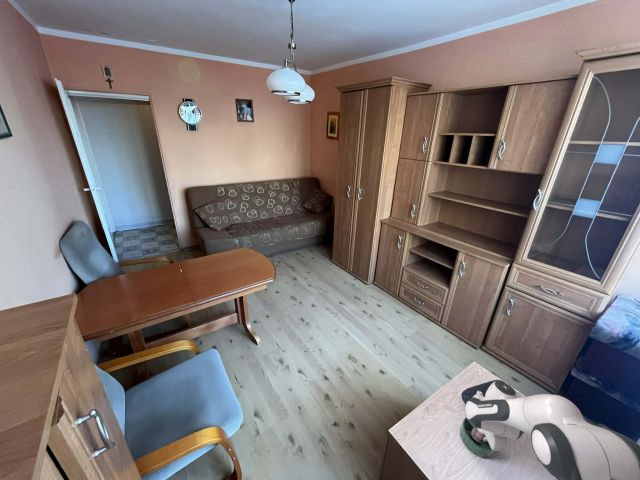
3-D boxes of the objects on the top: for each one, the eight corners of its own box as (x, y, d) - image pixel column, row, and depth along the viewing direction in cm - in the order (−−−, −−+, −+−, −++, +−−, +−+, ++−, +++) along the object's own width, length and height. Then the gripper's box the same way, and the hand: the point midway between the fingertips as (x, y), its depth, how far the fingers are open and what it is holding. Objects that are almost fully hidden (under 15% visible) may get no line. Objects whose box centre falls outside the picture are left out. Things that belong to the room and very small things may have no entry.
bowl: (500, 460, 111) (505, 452, 109) (467, 456, 112) (471, 448, 109) (484, 424, 124) (488, 417, 121) (454, 421, 124) (457, 414, 122)
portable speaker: (471, 417, 126) (478, 404, 122) (456, 398, 135) (462, 385, 131) (510, 404, 134) (518, 391, 129) (493, 386, 142) (500, 373, 138)
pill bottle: (473, 441, 115) (480, 428, 111) (469, 428, 120) (476, 415, 115) (486, 444, 114) (494, 431, 110) (482, 431, 119) (489, 418, 114)
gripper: (472, 387, 118) (463, 406, 124) (496, 438, 100) (484, 457, 106) (486, 389, 118) (477, 408, 124) (513, 440, 100) (500, 459, 106)
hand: (480, 431), depth 115 cm, fingers closed on pill bottle, 5 cm apart
